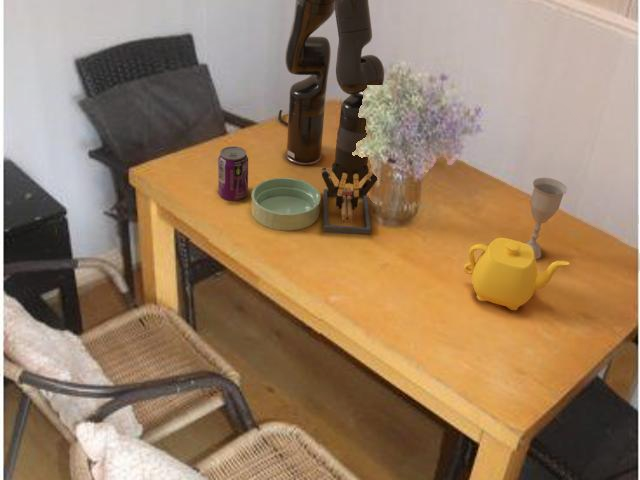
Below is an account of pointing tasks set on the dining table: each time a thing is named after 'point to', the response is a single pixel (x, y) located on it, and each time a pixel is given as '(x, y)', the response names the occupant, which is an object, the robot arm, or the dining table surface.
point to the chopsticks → (347, 205)
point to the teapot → (507, 272)
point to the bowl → (285, 204)
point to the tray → (345, 228)
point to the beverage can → (233, 173)
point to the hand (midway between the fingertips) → (346, 207)
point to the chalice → (544, 206)
